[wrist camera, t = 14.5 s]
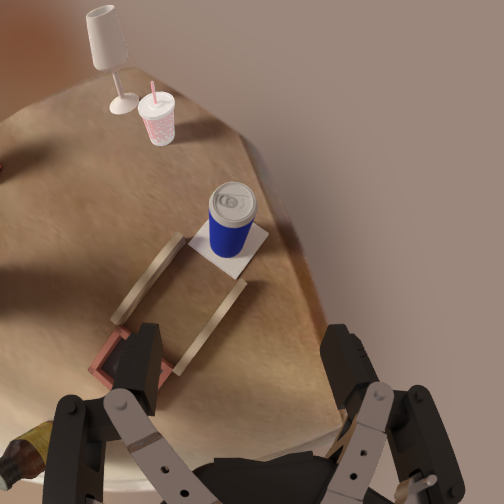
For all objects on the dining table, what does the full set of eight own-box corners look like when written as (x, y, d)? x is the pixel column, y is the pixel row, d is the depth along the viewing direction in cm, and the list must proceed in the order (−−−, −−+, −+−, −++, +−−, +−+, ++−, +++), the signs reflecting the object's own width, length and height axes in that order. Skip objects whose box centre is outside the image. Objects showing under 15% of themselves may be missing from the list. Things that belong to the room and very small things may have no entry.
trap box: (143, 409, 35) (139, 414, 32) (93, 367, 35) (87, 370, 33) (175, 367, 37) (173, 369, 35) (123, 325, 38) (118, 325, 35)
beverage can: (246, 230, 44) (262, 185, 29) (239, 262, 42) (254, 229, 28) (213, 223, 43) (215, 174, 29) (206, 255, 42) (203, 218, 27)
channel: (182, 371, 37) (179, 376, 34) (117, 320, 38) (109, 319, 34) (244, 286, 42) (247, 283, 38) (179, 238, 42) (177, 231, 39)
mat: (235, 279, 42) (235, 279, 42) (188, 244, 42) (187, 244, 42) (268, 234, 44) (269, 233, 44) (223, 202, 45) (223, 201, 44)
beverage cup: (185, 132, 47) (180, 76, 34) (164, 154, 46) (152, 100, 32) (161, 119, 48) (151, 66, 34) (140, 141, 46) (124, 88, 32)
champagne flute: (104, 105, 47) (75, 17, 24) (129, 88, 49) (110, 0, 26) (118, 119, 46) (88, 24, 23) (145, 101, 48) (127, 6, 25)
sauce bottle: (46, 412, 31) (-24, 443, 12) (75, 430, 31) (11, 475, 12) (43, 439, 29) (-19, 475, 10) (71, 457, 30) (15, 505, 11)
